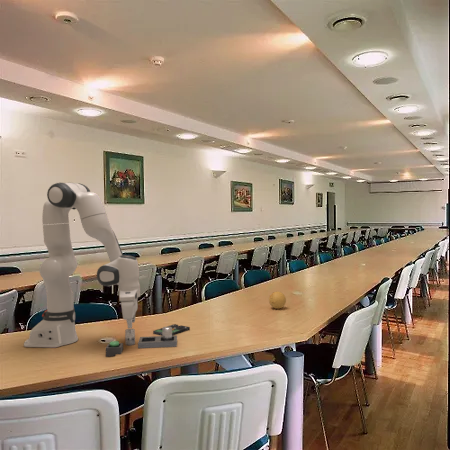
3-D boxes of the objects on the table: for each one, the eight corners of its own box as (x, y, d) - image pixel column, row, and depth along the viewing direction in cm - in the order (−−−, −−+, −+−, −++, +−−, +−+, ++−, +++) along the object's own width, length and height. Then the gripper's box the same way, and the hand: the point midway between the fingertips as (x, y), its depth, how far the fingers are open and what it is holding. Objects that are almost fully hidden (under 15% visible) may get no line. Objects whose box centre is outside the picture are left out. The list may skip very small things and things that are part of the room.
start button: (109, 346, 174) (109, 343, 174) (110, 344, 178) (110, 341, 178) (118, 346, 174) (118, 343, 174) (119, 343, 178) (119, 340, 178)
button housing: (105, 356, 173) (105, 348, 173) (108, 351, 179) (108, 343, 179) (121, 356, 174) (120, 347, 173) (123, 351, 179) (123, 342, 179)
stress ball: (287, 310, 253) (283, 296, 260) (288, 299, 246) (283, 286, 253) (271, 313, 252) (266, 300, 259) (271, 303, 245) (266, 289, 253)
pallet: (138, 350, 180) (137, 343, 180) (140, 343, 189) (140, 336, 189) (176, 348, 182) (176, 341, 182) (177, 342, 191) (177, 335, 191)
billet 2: (162, 345, 184) (162, 329, 184) (163, 342, 188) (162, 326, 188) (172, 345, 184) (171, 328, 184) (172, 342, 188) (172, 326, 188)
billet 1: (125, 347, 184) (124, 331, 184) (126, 344, 188) (125, 328, 188) (134, 347, 185) (134, 330, 185) (135, 344, 189) (135, 328, 189)
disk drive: (174, 329, 214) (152, 336, 202) (174, 323, 214) (152, 330, 202) (190, 332, 208) (169, 339, 196) (190, 326, 208) (168, 333, 196)
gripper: (125, 289, 196) (127, 319, 196) (118, 298, 175) (120, 331, 176) (139, 288, 196) (141, 318, 197) (134, 297, 176) (136, 330, 176)
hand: (131, 324), depth 186 cm, fingers open, 8 cm apart
